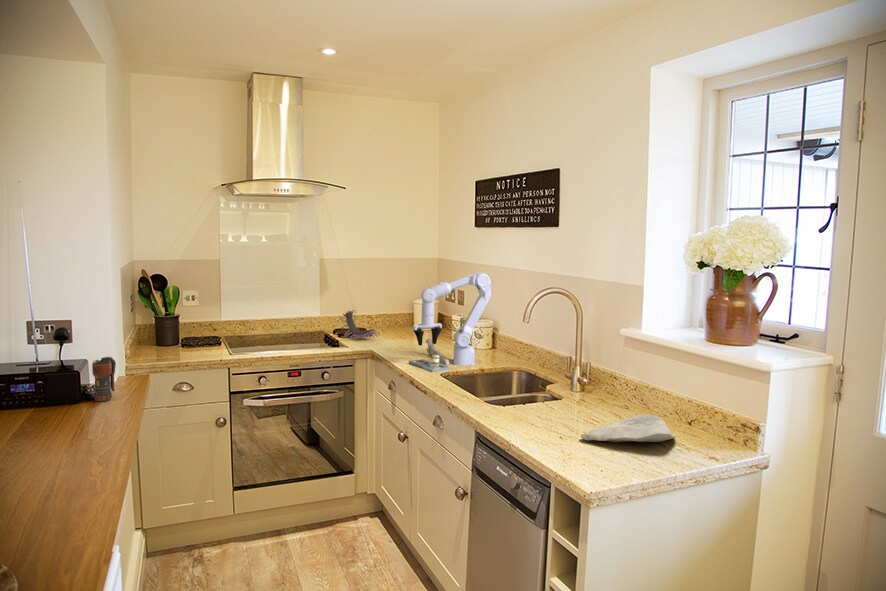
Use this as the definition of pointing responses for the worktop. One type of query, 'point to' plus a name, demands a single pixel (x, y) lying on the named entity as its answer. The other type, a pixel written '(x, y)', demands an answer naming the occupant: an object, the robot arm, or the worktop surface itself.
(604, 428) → the decorative stone
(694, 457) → the worktop surface
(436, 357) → the cylinder
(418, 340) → the robot arm
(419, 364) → the fuse block
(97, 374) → the grenade
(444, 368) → the parts tray
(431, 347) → the wrench
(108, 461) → the worktop surface
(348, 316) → the toy
